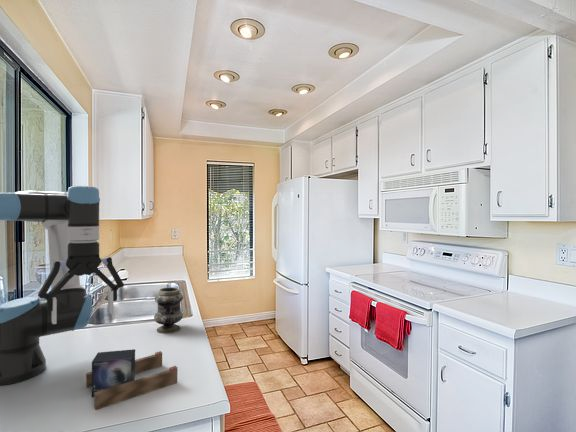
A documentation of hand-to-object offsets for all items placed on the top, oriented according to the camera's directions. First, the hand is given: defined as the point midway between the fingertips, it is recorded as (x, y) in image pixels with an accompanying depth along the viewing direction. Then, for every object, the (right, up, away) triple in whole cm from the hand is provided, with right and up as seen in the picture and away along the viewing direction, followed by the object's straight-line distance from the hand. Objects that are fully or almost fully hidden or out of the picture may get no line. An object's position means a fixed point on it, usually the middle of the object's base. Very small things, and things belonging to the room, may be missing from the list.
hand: (83, 317), depth 91 cm
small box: (+6, -23, +4) cm, 24 cm away
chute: (+10, -23, +8) cm, 26 cm away
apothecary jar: (+4, -22, +54) cm, 58 cm away
